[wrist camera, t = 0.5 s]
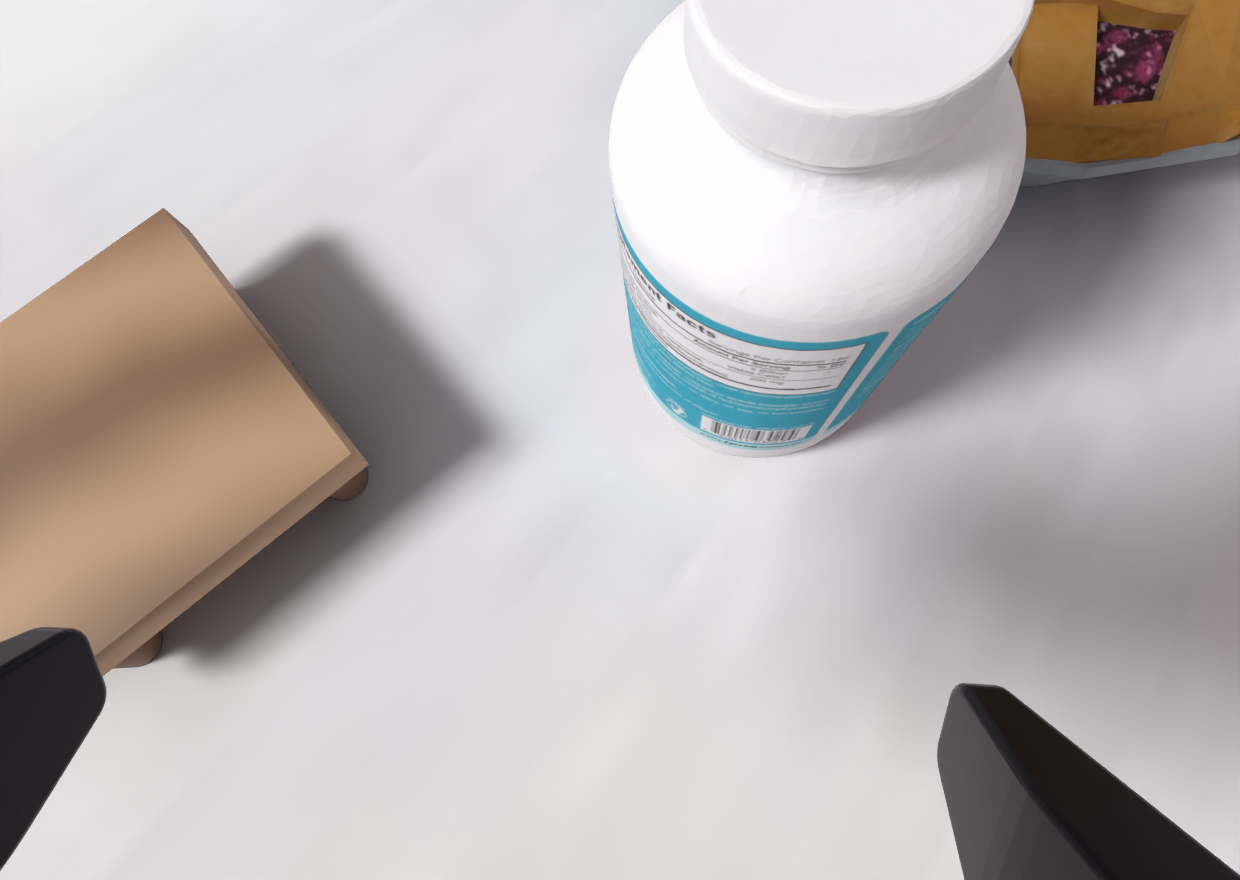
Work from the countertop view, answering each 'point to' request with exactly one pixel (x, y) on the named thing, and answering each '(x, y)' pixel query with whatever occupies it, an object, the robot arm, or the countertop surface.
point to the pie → (1127, 86)
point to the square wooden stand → (148, 444)
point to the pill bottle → (805, 200)
